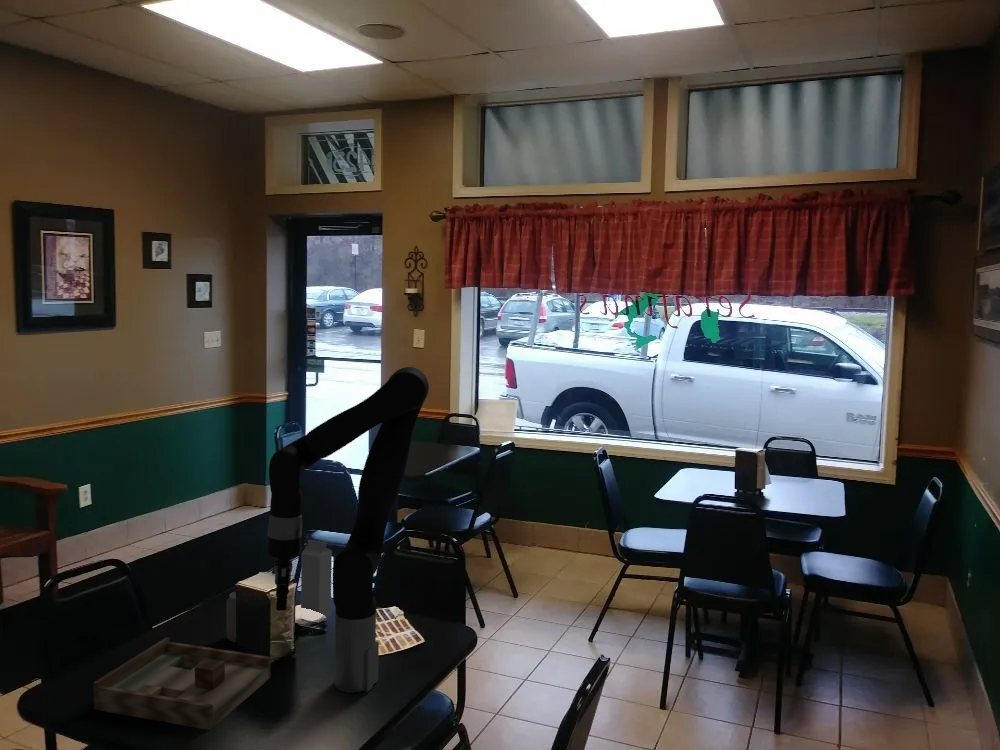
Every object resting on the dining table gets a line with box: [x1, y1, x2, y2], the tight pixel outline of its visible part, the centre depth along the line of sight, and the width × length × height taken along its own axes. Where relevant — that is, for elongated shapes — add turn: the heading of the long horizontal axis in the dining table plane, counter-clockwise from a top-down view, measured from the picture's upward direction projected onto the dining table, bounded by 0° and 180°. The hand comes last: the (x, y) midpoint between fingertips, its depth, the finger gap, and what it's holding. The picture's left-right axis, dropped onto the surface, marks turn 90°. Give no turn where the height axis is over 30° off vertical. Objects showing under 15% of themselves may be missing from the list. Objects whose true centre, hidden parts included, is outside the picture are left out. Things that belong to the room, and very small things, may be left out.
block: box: [195, 659, 225, 690], centre depth 177 cm, size 4×4×4 cm
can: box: [226, 591, 236, 644], centre depth 207 cm, size 8×8×12 cm
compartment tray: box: [93, 636, 271, 731], centre depth 179 cm, size 28×24×6 cm
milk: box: [300, 539, 333, 618], centre depth 222 cm, size 6×6×22 cm
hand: (281, 602), depth 183 cm, fingers open, 8 cm apart
